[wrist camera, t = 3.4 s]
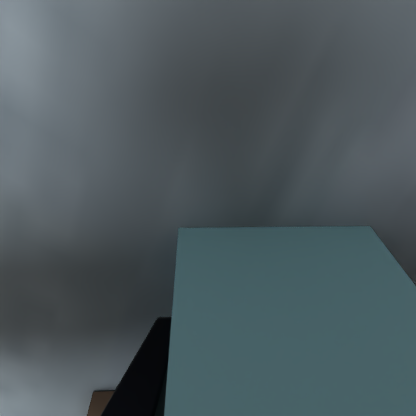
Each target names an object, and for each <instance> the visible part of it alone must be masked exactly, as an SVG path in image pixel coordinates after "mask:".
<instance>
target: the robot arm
mask: <svg viewBox="0 0 416 416" xmlns="http://www.w3.org/2000/svg"><path fill="white" fill-rule="evenodd" d="M171 319H172V317H159V318H157V320H156V321H155V323H154V325H153V326H152V328H151V330H150V331H149V333H148V335H147V337H146V338H145V340H144V342H143V343H142V345H141V347H140V349H139V350H138V352H137V354H136V355H135V357H134V359H133V360H132V362H131V364H130V366H129V367H128V369H127V371H126V372H125V374H124V376H123V378H122V379H121V381H120V383H119V384H118V386H117V388H116V390H115V391H114V393H113V395H112V396H111V398H110V400H109V402H108V403H107V405H106V407H105V408H104V410H103V412H102V413H101V415H100V416H164V411H165V398H166V385H167V372H168V359H169V346H170V332H171Z"/></svg>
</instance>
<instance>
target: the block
mask: <svg viewBox="0 0 416 416" xmlns="http://www.w3.org/2000/svg"><path fill="white" fill-rule="evenodd" d="M164 416H416V286H415V284H414V283H413V282H412V280H411V279H410V278H409V276H408V275H407V274H406V273H405V271H404V270H403V269H402V267H401V266H400V265H399V263H398V262H397V261H396V259H395V258H394V257H393V255H392V254H391V253H390V252H389V250H388V249H387V248H386V246H385V245H384V244H383V242H382V241H381V240H380V238H379V237H378V236H377V234H376V233H375V232H374V231H373V229H372V228H371V227H370V226H320V227H217V228H178V241H177V254H176V267H175V280H174V293H173V306H172V319H171V332H170V346H169V359H168V372H167V385H166V398H165V411H164Z"/></svg>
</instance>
